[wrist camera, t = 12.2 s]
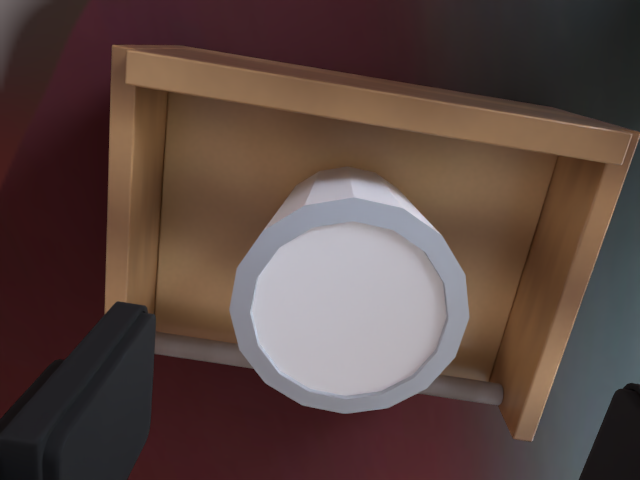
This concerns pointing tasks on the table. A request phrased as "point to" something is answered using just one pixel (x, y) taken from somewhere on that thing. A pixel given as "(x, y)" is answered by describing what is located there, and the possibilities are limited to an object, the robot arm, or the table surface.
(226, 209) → the spice rack
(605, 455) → the robot arm
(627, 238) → the table surface
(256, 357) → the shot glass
